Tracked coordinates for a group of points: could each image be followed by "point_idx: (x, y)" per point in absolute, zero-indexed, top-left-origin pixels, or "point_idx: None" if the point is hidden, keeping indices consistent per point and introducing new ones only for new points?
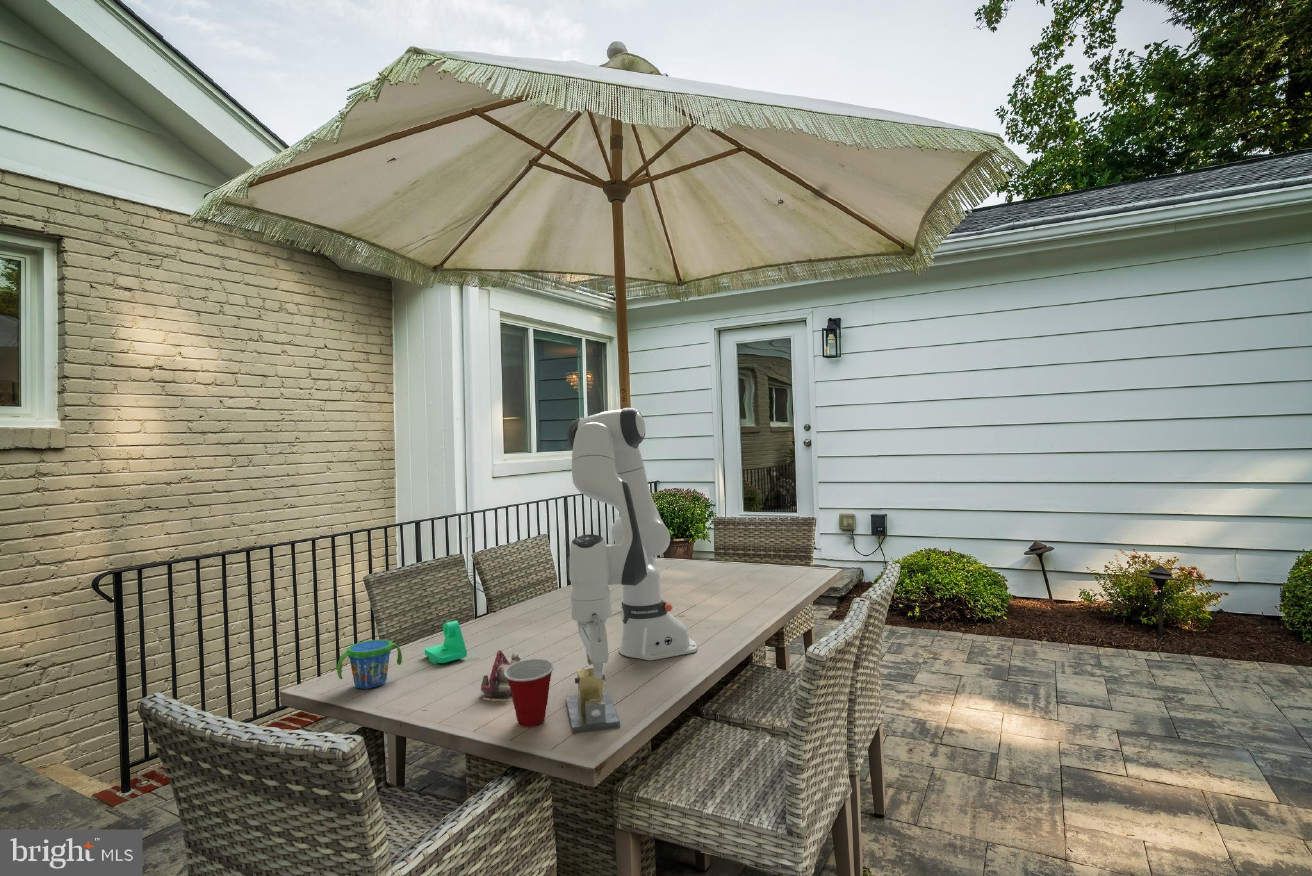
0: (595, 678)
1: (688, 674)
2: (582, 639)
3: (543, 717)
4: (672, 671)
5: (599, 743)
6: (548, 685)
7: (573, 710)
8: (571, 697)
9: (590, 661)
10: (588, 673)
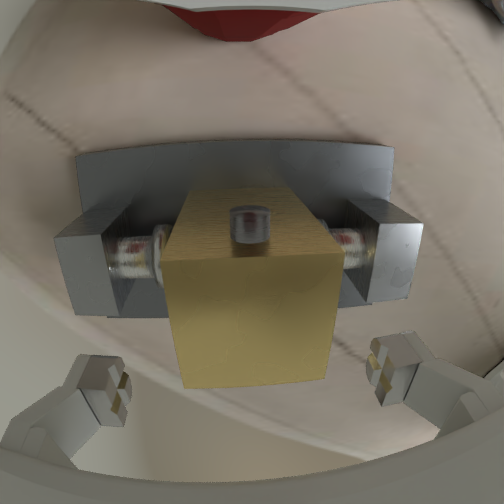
0: (80, 358)
1: (381, 441)
2: (496, 454)
3: (202, 32)
4: (414, 418)
5: (22, 238)
6: (195, 13)
7: (238, 161)
8: (378, 168)
9: (380, 358)
10: (233, 325)
